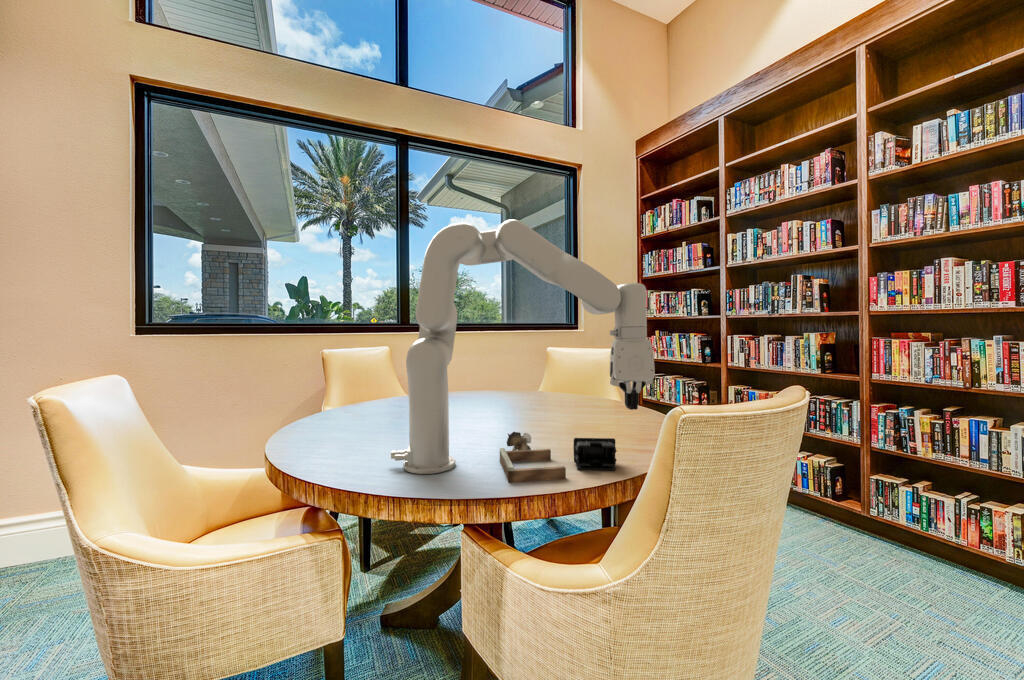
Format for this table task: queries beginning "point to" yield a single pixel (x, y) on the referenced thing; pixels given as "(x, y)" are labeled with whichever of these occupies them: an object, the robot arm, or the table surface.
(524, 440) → the squirrel figurine
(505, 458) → the wooden tray
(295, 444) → the table surface
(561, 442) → the table surface
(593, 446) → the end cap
